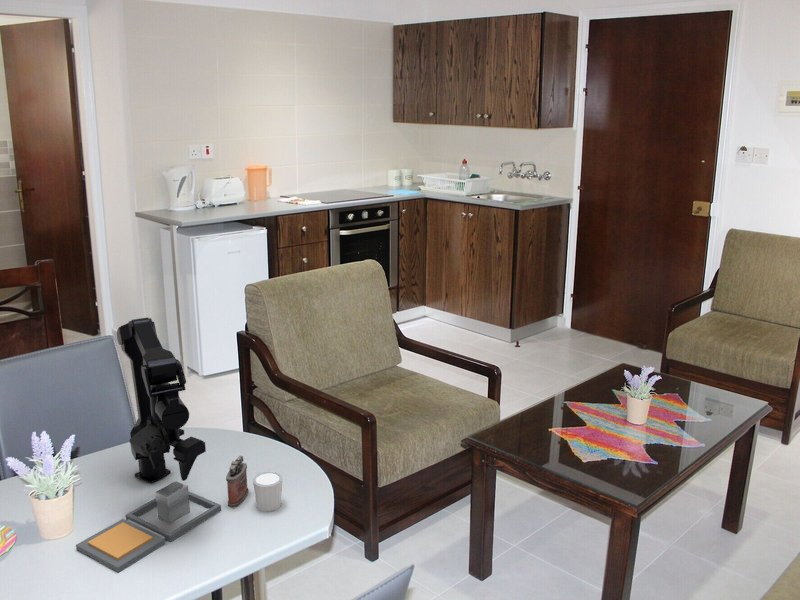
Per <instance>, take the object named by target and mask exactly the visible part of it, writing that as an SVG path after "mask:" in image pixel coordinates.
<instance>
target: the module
mask: <svg viewBox="0 0 800 600" xmlns="http://www.w3.org/2000/svg"><path fill="white" fill-rule="evenodd" d="M188 491H189V485H188V484H185V483H182V482H181V481H177V480H175V481H172V482H171V483H169V484H167V485H165V486H163V487H162V488H160V489H158V490H156V491H155V492H154V493H155V498H156V504H157V506H156V511H157V512H156V515H157V520H159V521H161V522H162V523H163V522H164V523H165V524H168V525H172V524H173V523H175V522H176V521H177V522H178V520H180V519H181V518H183V517H185V516H187V515H188V514H190V513H191V507H190V506H191V504H190V500H189V492H190V491H189V492H188Z"/></svg>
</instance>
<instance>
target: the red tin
mask: <svg viewBox="0 0 800 600" xmlns="http://www.w3.org/2000/svg"><path fill="white" fill-rule="evenodd" d="M247 468H248V464H247V462H244V456H243V455H238V457H236V458H235V460H234V461H233V460H232V461H231V463H230V466H229V468H228V469H229V470H228V472H227V474H226V476H225V480H226V482H227V497H228V500H227V506H228V508H233V509H234V508H238V507H240V506H241V504H242V503H243V502H244V501H245V500H246V499H247V497H248V495H249V488H248V476H247V475H248V474H247Z"/></svg>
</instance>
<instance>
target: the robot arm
mask: <svg viewBox="0 0 800 600" xmlns="http://www.w3.org/2000/svg"><path fill="white" fill-rule="evenodd" d="M116 338H117V343H118V345H120V347H121V351H122V352H123V353H124V354H125V356H126V357H127V358H128V359H129V361H130V370H131V377H132V382H133V389H134V395H135V403H136V411H137V420H136V422H135V423H134V426H133V427H132V429H131V431H130V432H129V436H130V439H129V440H128V441H129V443H130V451H131V455H132V456H133V458H134V460H135V461H137V462H138V468H139V471H138V472H136V473H134V477H135V478H137V479H140V480H143V481H145V482H147V483H149V484H153V483H155V482H156V481H158V480H160V479H162V478H164V477H166V476H167V475H169V474H171V473H172V471H171V470H170V469H168V468H167V467H166V460H165V454H169V453H170V450H171V447H173V448H172V454H173V456H174V457H173V458H172V459H173V460H174V461H176V462H178V467H179V474H180V477H181V481H182V482H185V481H186V480H187V479H188V477H189V475H190V473H191V470H192V468H193V466H194V463H195V461H196V460H197V458H198V457H199V456H200V455H202V454H204V453H206V451H207V449H206V447H207V446H206V442H205V441H204V440H201V439H199V438H196V437H193V436H190V437H188V438H186V439H183V438H180V437H181V436H183V435H185V429H182V428H183V427H185V426H186V425H187V422H188V421H189V418H190V411H189V409H188V407H187V405H185V403H184V401H182V399H181V398H180V392H183V391H186V386H185V385H186V384H187V378H186V376H185V375H186V374H185V372H184V369H183V365H182V363H180V360H179V359H176V356H175V355H174V354H173V352H172V351H170V350H168V349H165V348H164V347H163V346H162V343H161V342H160V340H159V338H158V335H157V329H156V324H155V322H154V321H153V319H152V318H151V317H150V318H149V317H142V318H140V317H139V318H136V319H135V318H134V319H131V320H129V321H128V322H127V323H125V324H123V325H120V326H119V327H118V328H117V331H116ZM176 381H177V382H176ZM172 382H174V383H172Z"/></svg>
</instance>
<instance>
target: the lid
mask: <svg viewBox="0 0 800 600" xmlns="http://www.w3.org/2000/svg"><path fill="white" fill-rule="evenodd" d="M165 539H166V537H164V536H162V535H160V534H158V533H156V532H154V531H152V530H150V529H148V528H146V527H144V526H141V525H139V524H137V523H135V522H133V521H131V520H126V518H121V519H120V520H118V521H116V522H115V523H113V524H111V525H109V526H107V527H106V528H104V529H102V530H99V531H98V532H97V533H95V534H92V535H91V536H89V537H87V538H86V539H84V540H82V541H80V542H78V543H77V544H75V548H76V549H77V550H76V549H75V550H76V551H78V550H79V551H78V552H80V551H81V552H80V553H82V552H83V553H84V555H85V554H86V556H87V555H88V557H89V556H90V557H89V558H91V559H93V560H94V559H95V560H94V561H97V563H100V564H102V565H104V566H105V567H106V568H109V569H111V570H113V571H114V572H116V573H120V572H122V571H124V570H125V569H127V568H128V567H130V566H132V565H133V564H135V563H136V562H138V561H140V560H141V559H143V558H144V557H146V556H147V555H149V554H151V553H153V552H154V551H156V550H157V549H159V548H161V547H162V546H165V545H166V540H165ZM83 553H82V554H83Z"/></svg>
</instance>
